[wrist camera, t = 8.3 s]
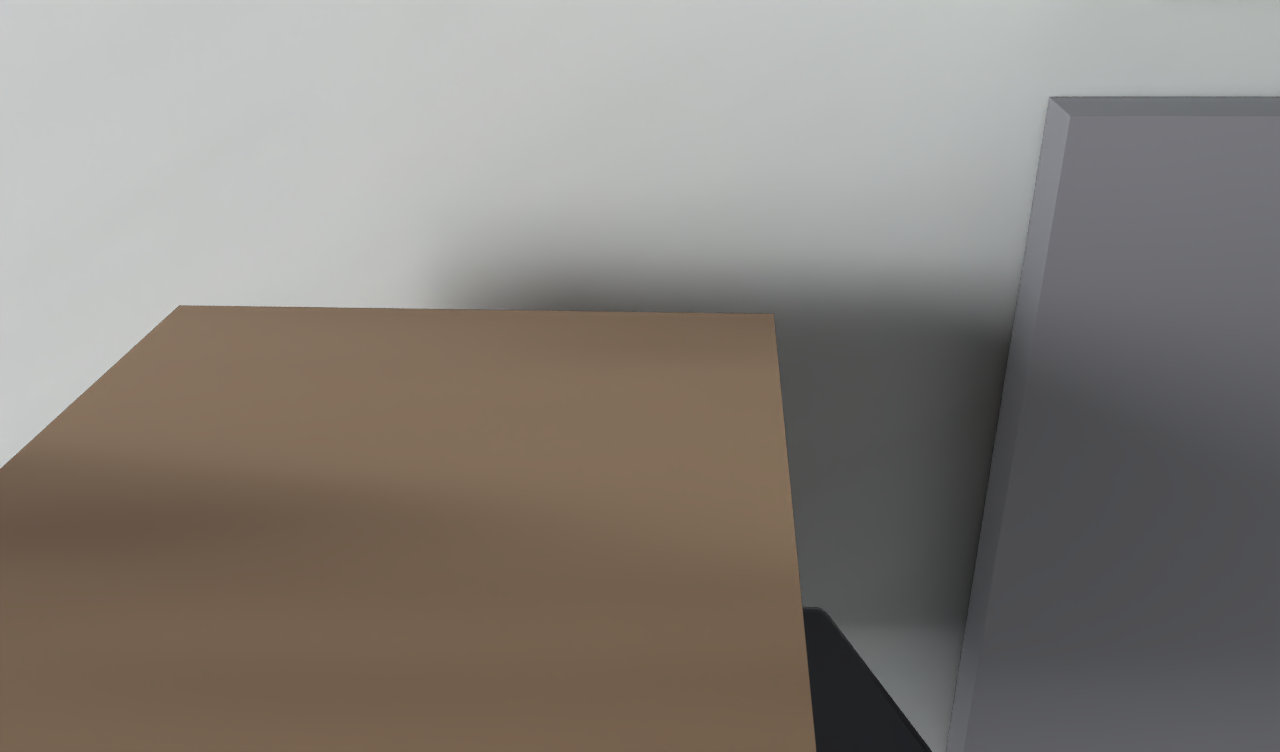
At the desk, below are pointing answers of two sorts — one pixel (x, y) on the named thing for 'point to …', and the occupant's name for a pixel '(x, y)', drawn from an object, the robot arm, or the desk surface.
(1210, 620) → the pad
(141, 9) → the desk surface
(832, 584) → the desk surface
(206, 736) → the brown rectangular block
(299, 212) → the desk surface
